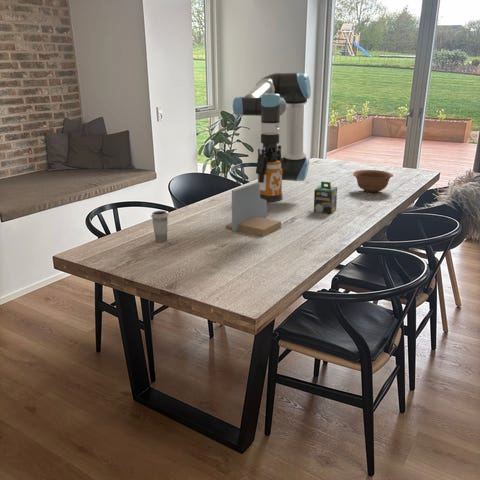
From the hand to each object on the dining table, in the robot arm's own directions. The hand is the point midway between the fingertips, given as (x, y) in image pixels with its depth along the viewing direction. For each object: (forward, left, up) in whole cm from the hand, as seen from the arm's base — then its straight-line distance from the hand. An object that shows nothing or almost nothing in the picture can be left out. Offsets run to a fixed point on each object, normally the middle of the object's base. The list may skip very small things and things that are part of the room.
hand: (269, 187), depth 205 cm
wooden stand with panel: (-8, +3, -19) cm, 21 cm away
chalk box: (+5, +43, -20) cm, 48 cm away
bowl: (+9, +92, -20) cm, 95 cm away
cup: (-29, -36, -20) cm, 50 cm away
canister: (0, 0, -5) cm, 5 cm away
